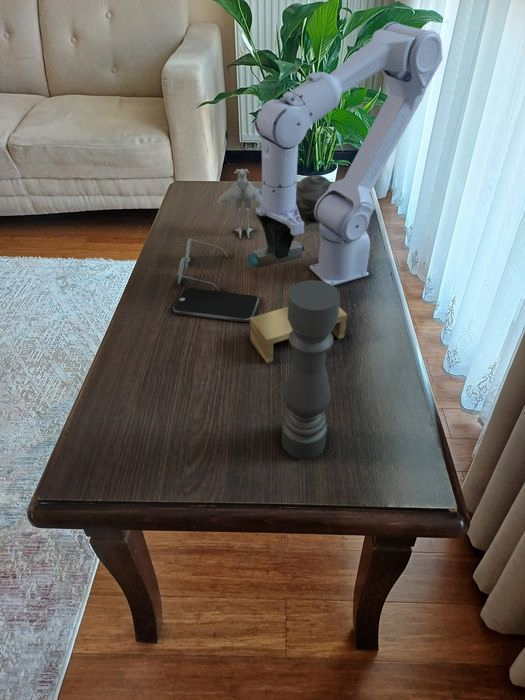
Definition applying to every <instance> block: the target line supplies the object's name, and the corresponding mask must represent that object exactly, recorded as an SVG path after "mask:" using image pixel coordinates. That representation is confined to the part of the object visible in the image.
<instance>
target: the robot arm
mask: <svg viewBox="0 0 525 700" xmlns="http://www.w3.org/2000/svg"><path fill="white" fill-rule="evenodd" d="M442 61H443V44H442V38H441V36H440V34H439V33H438V32H437V31H435V30H432V29H423V28H418V27H415V26H410V25H409V26H408V25H405V24H401V23H400V22H397V21H390V22H388V23H386V24H385V25H384V26H382V28H379V29H377V30H375V31H374V32H373V34H372V37H371V40H369V42H367V43H366V44H365V45H363V46H362V47H361V48H360V49H358V51H356V52H355V53H353V54H352V55H351V56H350V57H349V58H348V59H346V60H345V61H344V62H343V63H341V64H340V65H339V66H338V67H336V68H335V69H334V70H333V71H331V72H330V73H327V72H324V71H318V72H315V71H313V72H311V73H310V74H308V75H307V80H305V81H304V82H302V83H301V84H300V85H298V86H297V87H295V88H294V89H292V90H291V91H286V92H285V93H284V94H283V95H282V97H281V98H280V99H270V100H268V101H266V102H265V103H264V104H263V105H262V106H261V107H260V108H259V110H258V113H257V116H256V119H254V121H253V123H254V129H255V131H256V133H257V134H258V135H259V137H260V146H261V189H259V190H256V201H257V203H259V206H258V207H256V208H255V212H256V217H257V219H258V220H259V222H260V224H261V227H262V230H263V232H264V236H265V241H266V245H267V247H271V246H274V251H275V256H276V258H277V259H280V258H284V257H287V256H288V253H289V250H290V247H291V244H292V241H294V239H295V237H296V236H299V235H302V234H304V233H305V221H304V220H302V218H301V215H300V214H299V211H298V208H297V205H296V186H297V184H298V182H297V181H298V157H299V145H300V144H301V143H302V142H303V140H304V138H305V136H306V134H307V131H308V130H309V129H311V126H312V125H313V124H315V123H316V122H318V121H319V120H321V119H322V118H323V117H324V116H326V115H327V114H329V113H330V112H332V111H333V110H335V109H336V108H337V107H338V106H339V105H340V102H341V96H342V94H344V93H346V92H347V91H349V90H351V89H352V88H354V87H356V86H358V85H359V84H360V83H362V82H364V81H366V80H367V79H369V78H370V77H372V76H374V75H376V74H377V73H378V72H381V73H382V75H383V78H384V80H385V82H386V83H387V87H388V95H387V98H386V99H385V101H384V102H383V104H382V106H381V108H380V110H379V112H378V114H377V116H376V117H375V119H374V121H373V123H372V125H371V127H370V129H369V131H368V133H367V134H366V135H365V138H364V140H363V142H362V144H361V146H360V148H359V149H358V151H357V154H356V155H355V157H354V158H353V160H352V163H351V164H350V165H349V168H348V170H347V172H346V174H345V175H344V178H340V179H338V180H335V181H334V182H331V184H330V186H329V188H328V190H327V191H326V192H325V194H323V195H322V196H321V197H320V198H319V200H318V201H317V203H316V206H315V209H314V215H315V218H316V220H315V221H317V222H318V223H319V228H318V229H320V238H319V251H318V263H313V264H310V265H309V269H310V270H311V271H312V272H313V273H314V274H315V275H316V276H317V277H318V278H319V279H320V281H322V282H326V283H329V284H331V285H332V286H334V287H335V286H337V285H340V284H344V283H347V282H350V281H354V280H358V279H361V278H364V277H368V276H369V275H370V273H369V272H368V264H369V256H370V252H371V239H370V235H369V234H368V231H367V229H368V227H369V224H370V220H371V216H372V214H373V212H374V210H375V208H376V207H375V204H374V203H375V202H374V200H373V197H372V194H371V191H372V190H373V188H374V186H375V184H376V183H377V181H378V179H379V177H380V176H381V174H382V172H383V170H384V168H385V166H386V165H387V163H388V162H389V159H390V157H391V156H392V154H393V152H395V151H394V150H395V149H396V147H397V145H398V143H399V142H400V140H401V138H402V136H403V135H404V133H405V130H406V129H407V127H408V125H409V124H410V122H411V120H412V119H413V117H414V115H415V113H416V111H417V110H418V107H419V106H420V104H421V102H422V101H423V98H424V96H425V94H426V90H427V88H428V86H429V85H430V83H431V81H432V79H433V77H434V76H435V74H436V72H437V70H438V68H439V67H440V65H441V63H442ZM348 199H349V200H350V201H349V200H348ZM256 201H255V202H256Z"/></svg>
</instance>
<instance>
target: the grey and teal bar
mask: <svg viewBox="0 0 525 700" xmlns="http://www.w3.org/2000/svg"><path fill="white" fill-rule="evenodd" d="M304 251H305V247H304V245H303V244H301V243H300V242H299V241H298V240H293V241H292V244H291V247H290V250H289V253H288V256H287V257H284V258H280V259H277V258H276V256H275V251H274V246H271V247H268V246H266V247H263V248H259V249H253V250H252V253H249V254H247V255H246V260H247V264H248V266H249V268H255V267H256V268H258V269H262V268H266V267H269V266H273V265H278V264H282V263H286V262H290V261H293V260H298V259H301V258H303V252H304Z"/></svg>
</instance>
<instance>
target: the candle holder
mask: <svg viewBox="0 0 525 700" xmlns="http://www.w3.org/2000/svg"><path fill="white" fill-rule="evenodd" d="M287 301H288V303H287V307H288V320H289V322H290V325H291V327H292V329H293V330H292V331H291V332H290V335H289V339H288V342H289V345H290V347H291V349H293V362H292V365H291V368H290V371H289V374H288V376H287V379H286V382H285V384H284V387H283V392H282V393H283V395H282V397H283V401H284V403H285V405H286V408H287V410H286V411H285V413H284V418H283V419H282V425H281V445H282V447H283V450H284V451H285V452H286V453H288V454H289V456H292V457H294V458H297V459H302V460H303V459H304V460H308V459H312V458H316V457H317V456H319V455H320V454H322V453H323V451H324V449H325V447H326V441H327V433H328V423H327V416H326V414H325V411H326V409H327V408H328V406H329V404H330V403H331V387H330V383H329V382H330V381H329V377H328V372H327V368H326V358H327V353H328V351H330V349H331V348H332V346H333V345H334V334H333V333H332V332H331V331H332V330H333V328H334V326H335V325H336V323H337V321H338V313H339V307H340V303H341V292H340V291H339V290H338V288H337V287H335V285H334V286H332V285H331V284H329V283H326V282H323V281H322V280H314V279H313V280H312V279H309V280H304V281H300V282H298V283H295V284H294V285H292V286H291V288H289V290H288V299H287Z"/></svg>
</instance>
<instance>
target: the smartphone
mask: <svg viewBox="0 0 525 700" xmlns="http://www.w3.org/2000/svg"><path fill="white" fill-rule="evenodd" d="M259 301H260V299H259V296H258V297H257V296H256V295H252V294H244V293H243V294H242V293H235V292H234V293H233V292H225V291H218V290H217V291H215V290H209V289H207V290H206V289H198V288H191V287H190V288H185V289H183V290H182V291H181V293H180V295H179V297H178V298H177V301H176V302H175V304H174V306H173V307H172V309H173V310H172V311H173V313H174V314H177V315H184V316H192V317H200V318H206V319H207V318H208V319H214V320H215V319H216V320H223V321H224V320H225V321H232V322H240V323H248V322H249V323H250V318H251V317H255V313H256V311H257V308H258V305H259Z"/></svg>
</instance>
